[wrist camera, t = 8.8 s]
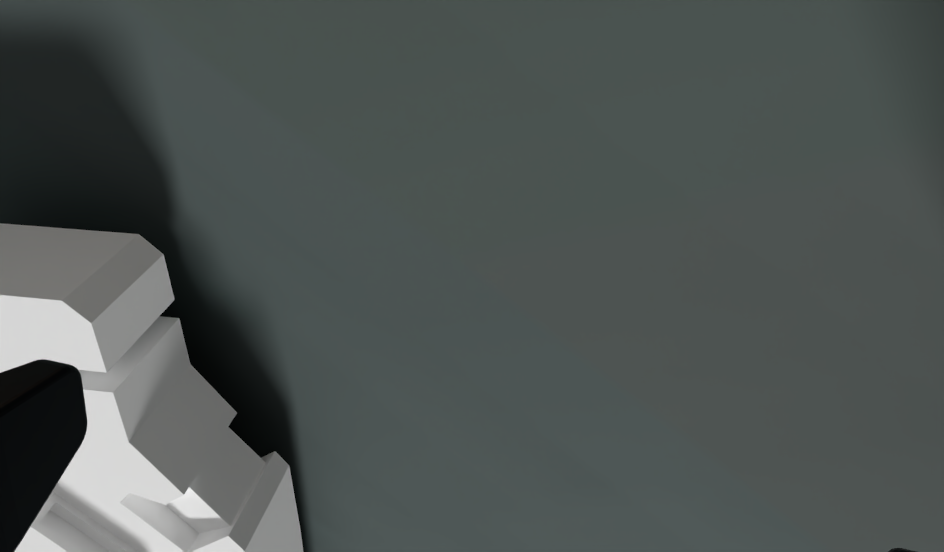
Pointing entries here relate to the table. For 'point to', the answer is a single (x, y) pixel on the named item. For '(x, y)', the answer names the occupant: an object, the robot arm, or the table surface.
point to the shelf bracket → (134, 406)
